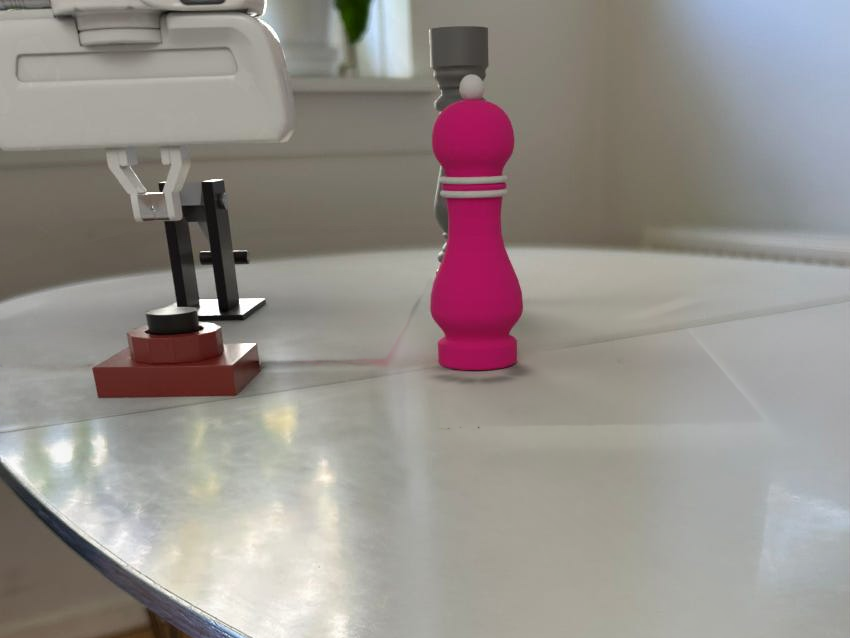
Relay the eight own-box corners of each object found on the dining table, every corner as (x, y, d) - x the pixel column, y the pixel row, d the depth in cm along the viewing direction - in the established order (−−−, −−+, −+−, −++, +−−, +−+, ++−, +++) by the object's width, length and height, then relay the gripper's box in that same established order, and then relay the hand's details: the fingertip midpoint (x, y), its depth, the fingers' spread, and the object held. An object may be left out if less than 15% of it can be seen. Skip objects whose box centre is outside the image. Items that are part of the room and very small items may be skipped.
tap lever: (202, 272, 104) (203, 250, 105) (249, 271, 104) (250, 249, 104) (162, 205, 92) (163, 181, 93) (216, 204, 92) (216, 180, 92)
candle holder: (459, 297, 110) (451, 33, 98) (506, 301, 107) (503, 28, 95) (425, 305, 105) (412, 29, 94) (472, 309, 102) (465, 24, 91)
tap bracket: (181, 315, 103) (160, 179, 97) (267, 313, 103) (251, 177, 97) (150, 332, 94) (125, 184, 89) (244, 331, 94) (225, 182, 88)
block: (97, 398, 71) (86, 341, 69) (134, 374, 78) (125, 321, 77) (236, 396, 71) (228, 338, 69) (260, 371, 78) (254, 318, 76)
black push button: (143, 340, 71) (138, 315, 71) (158, 331, 75) (154, 307, 74) (192, 339, 71) (188, 314, 71) (206, 330, 75) (202, 306, 74)
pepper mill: (435, 354, 83) (424, 77, 73) (522, 352, 82) (522, 75, 73) (429, 373, 76) (415, 73, 67) (523, 371, 76) (523, 70, 67)
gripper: (-66, -16, 61) (-8, 229, 67) (267, -28, 60) (293, 220, 66) (-17, -3, 66) (31, 221, 73) (287, -15, 66) (310, 213, 72)
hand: (159, 221), depth 69 cm, fingers closed
